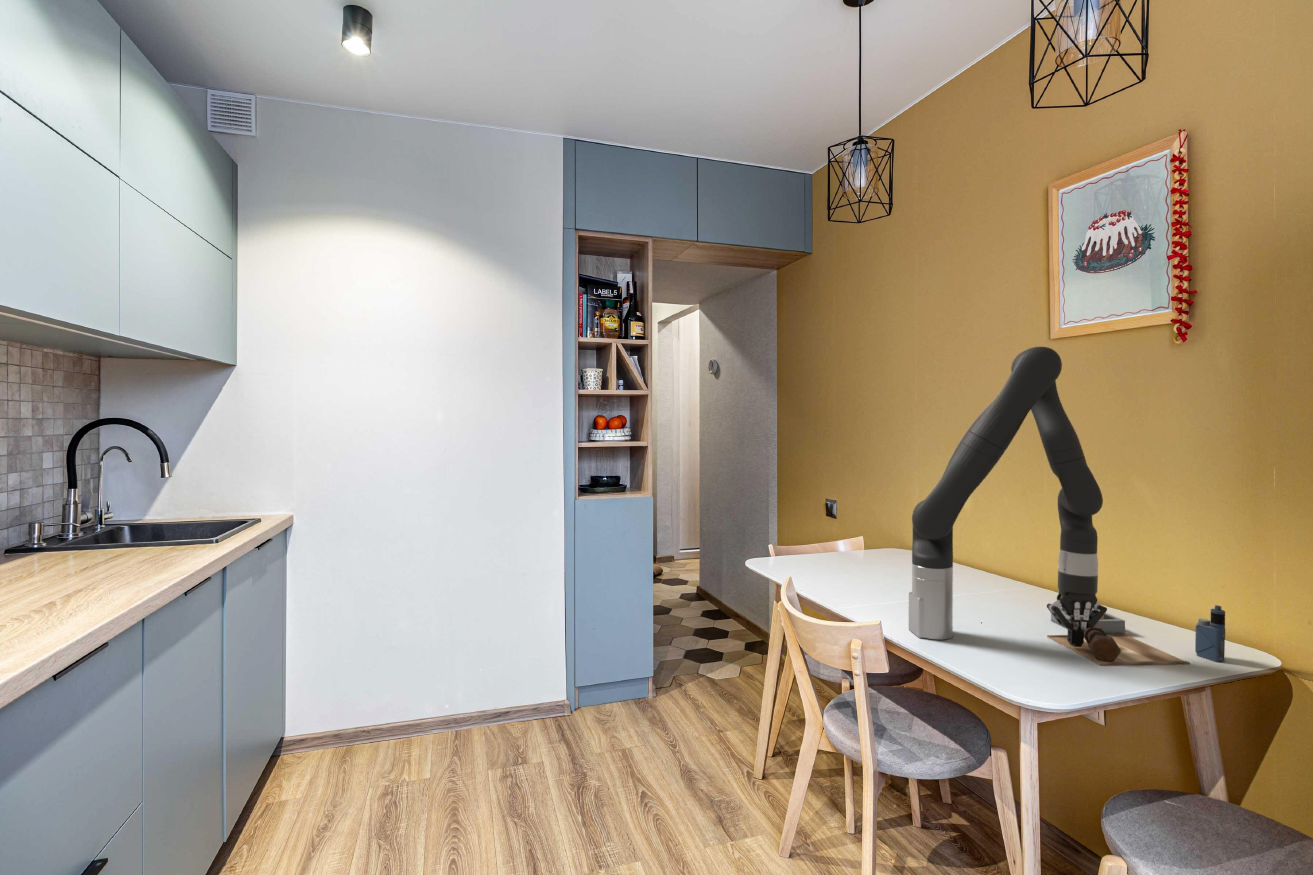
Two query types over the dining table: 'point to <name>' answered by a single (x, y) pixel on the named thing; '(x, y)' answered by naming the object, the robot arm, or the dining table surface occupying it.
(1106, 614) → the tray
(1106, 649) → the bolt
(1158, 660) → the board
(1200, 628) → the vaping device
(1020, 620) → the dining table surface
